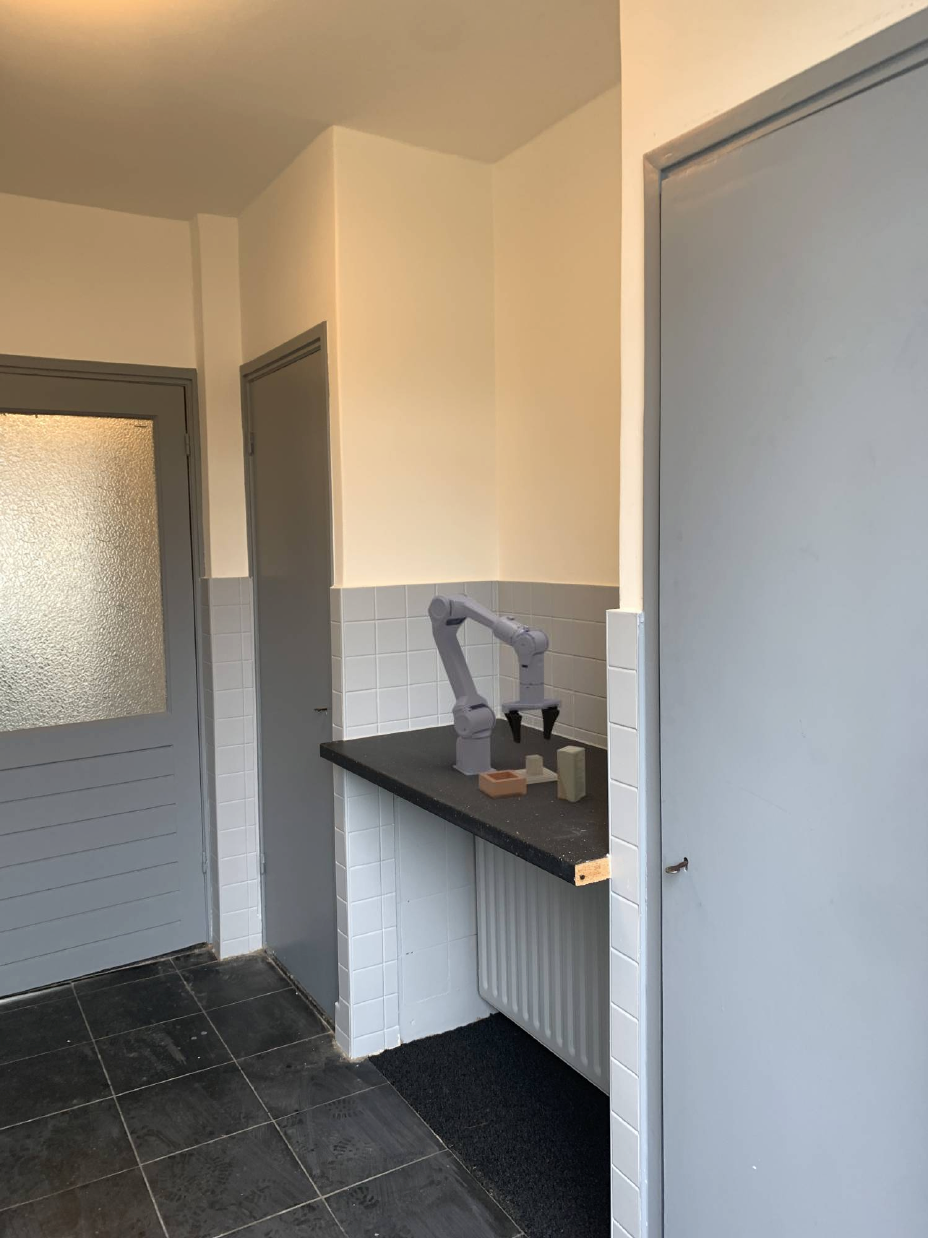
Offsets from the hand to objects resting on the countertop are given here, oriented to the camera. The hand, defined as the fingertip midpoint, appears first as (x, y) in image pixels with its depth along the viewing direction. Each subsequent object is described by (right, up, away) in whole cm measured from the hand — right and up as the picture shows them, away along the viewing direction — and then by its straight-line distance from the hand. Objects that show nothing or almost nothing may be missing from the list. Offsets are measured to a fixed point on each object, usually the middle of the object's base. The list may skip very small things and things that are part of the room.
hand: (532, 740), depth 209 cm
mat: (+1, -10, +4) cm, 10 cm away
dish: (-7, -11, -8) cm, 15 cm away
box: (+8, -11, -12) cm, 18 cm away
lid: (+1, -9, +4) cm, 10 cm away
